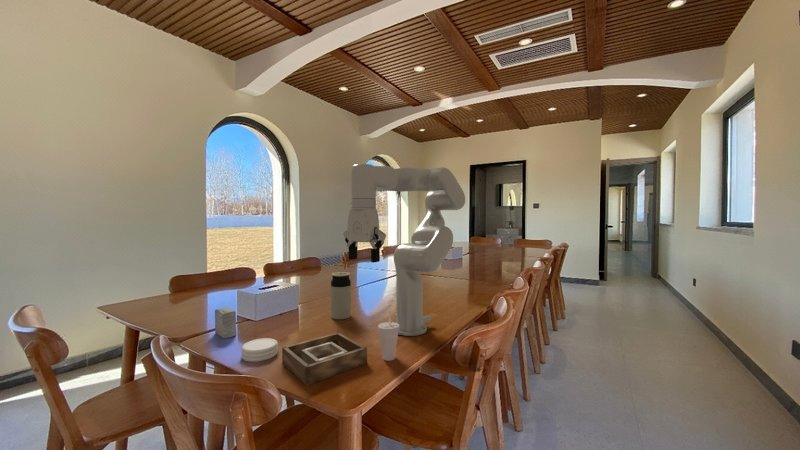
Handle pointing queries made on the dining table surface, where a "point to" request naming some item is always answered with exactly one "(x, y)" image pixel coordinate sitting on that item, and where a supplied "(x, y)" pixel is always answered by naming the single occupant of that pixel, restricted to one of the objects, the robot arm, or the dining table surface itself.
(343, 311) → the travel mug
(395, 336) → the smoothie
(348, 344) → the walnut box
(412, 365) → the dining table surface
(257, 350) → the coaster
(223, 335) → the medicine box
